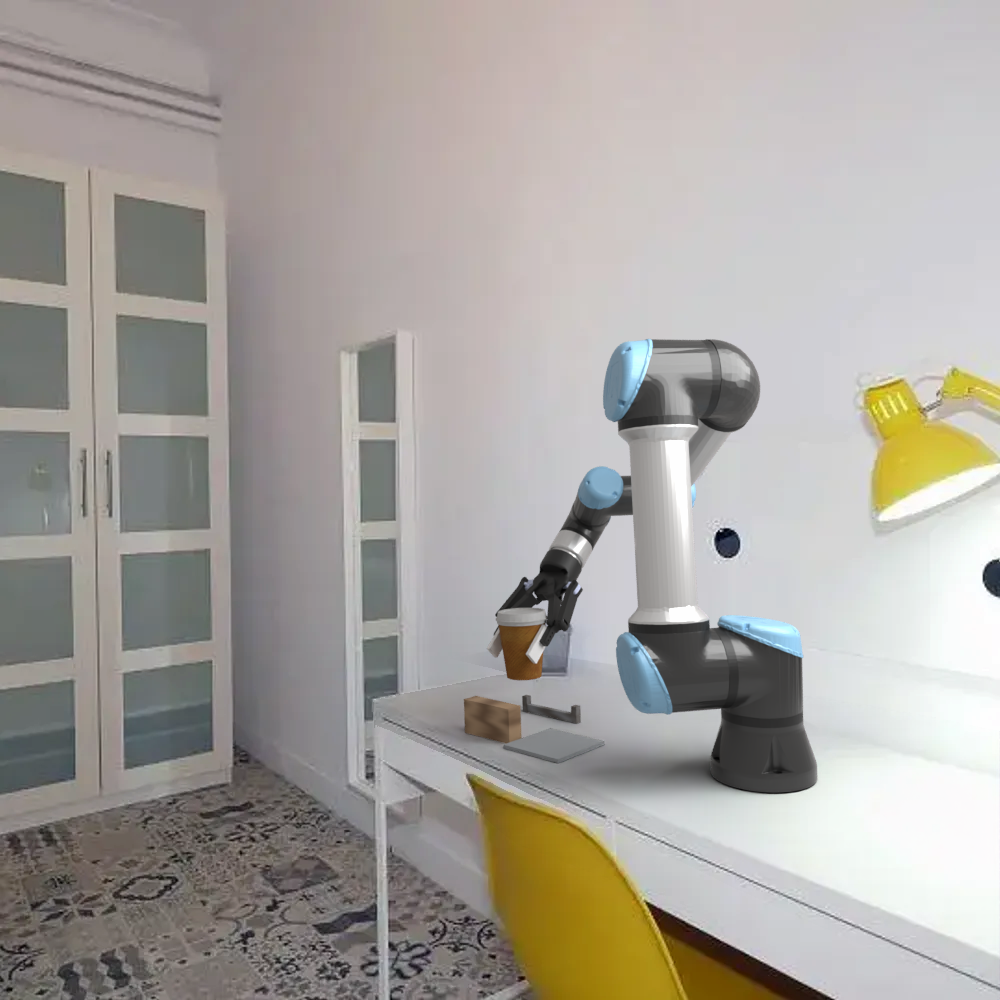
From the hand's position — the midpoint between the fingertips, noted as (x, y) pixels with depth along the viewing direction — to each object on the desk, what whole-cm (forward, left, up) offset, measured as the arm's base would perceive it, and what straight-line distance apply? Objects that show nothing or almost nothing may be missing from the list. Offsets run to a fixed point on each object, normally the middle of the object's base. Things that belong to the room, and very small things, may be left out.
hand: (511, 656), depth 155 cm
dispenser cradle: (0, -2, -13) cm, 13 cm away
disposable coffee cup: (0, -3, -5) cm, 6 cm away
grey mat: (-12, +3, -13) cm, 18 cm away
